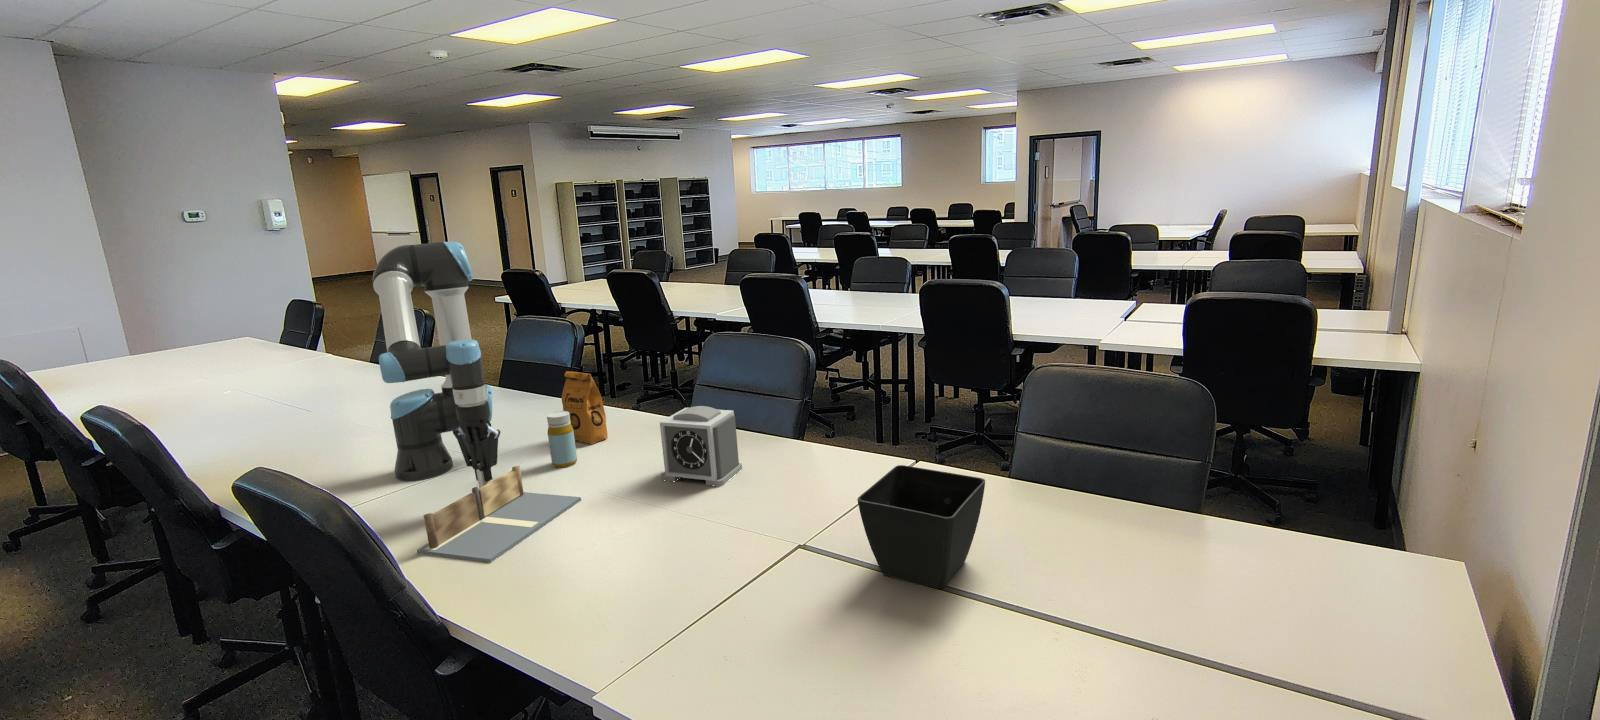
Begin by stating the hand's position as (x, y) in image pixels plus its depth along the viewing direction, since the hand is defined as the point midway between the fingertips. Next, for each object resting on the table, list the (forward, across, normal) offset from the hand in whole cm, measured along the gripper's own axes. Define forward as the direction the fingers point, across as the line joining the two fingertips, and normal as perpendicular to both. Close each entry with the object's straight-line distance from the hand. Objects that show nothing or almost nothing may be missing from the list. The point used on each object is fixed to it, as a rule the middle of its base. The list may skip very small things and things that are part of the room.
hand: (486, 492), depth 190 cm
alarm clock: (+4, +46, +30) cm, 55 cm away
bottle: (+4, +1, +30) cm, 30 cm away
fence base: (+3, +6, -16) cm, 17 cm away
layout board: (+4, +13, -9) cm, 16 cm away
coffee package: (+4, -5, +50) cm, 50 cm away
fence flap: (+2, +5, -1) cm, 6 cm away
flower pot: (+4, +112, -8) cm, 112 cm away
